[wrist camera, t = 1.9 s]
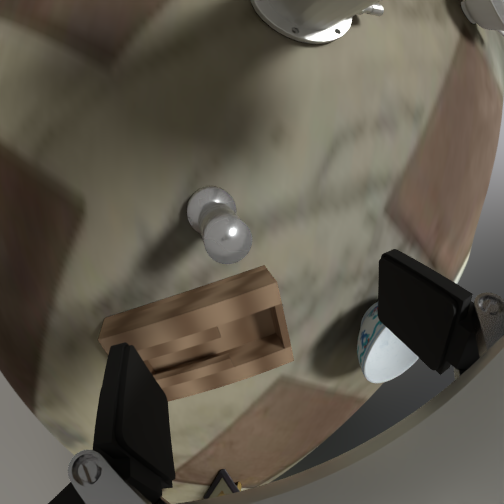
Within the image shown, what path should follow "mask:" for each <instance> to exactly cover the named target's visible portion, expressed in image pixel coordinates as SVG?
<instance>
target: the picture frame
mask: <svg viewBox="0 0 504 504" xmlns="http://www.w3.org/2000/svg"><path fill="white" fill-rule="evenodd" d="M241 485H242V484H241V483H240V482H238V485H237V486H236V485H235V483H234V482H233V480H232V479H231V477H230V476H229V474H228V473H227V471H226V470H225V469H223V470H221V471H220V472H219V474H218V476H217V477H216V479H215V480H214V482H213V484H212V485H211V487H210V489H209V490H208V492H207V493H206V495H205V496H204V499H209V498H214V497H219V496H223V495H227V494H232V493H236V492H240V491H241Z"/></svg>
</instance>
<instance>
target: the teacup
mask: <svg viewBox="0 0 504 504" xmlns="http://www.w3.org/2000/svg"><path fill="white" fill-rule="evenodd" d="M461 7H462V10H463V12H464V14H465V15H466V17H467V18H468V20H469V21H470V22H471V23H473V24H475V23H477V24H478V25H479V26H481V27H482V28H484V29H488V30H497V31H498V32H500V33H501V34H502V35H503V36H504V32H503V31H504V2H503V0H465V2H464V1H462V2H461Z"/></svg>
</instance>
